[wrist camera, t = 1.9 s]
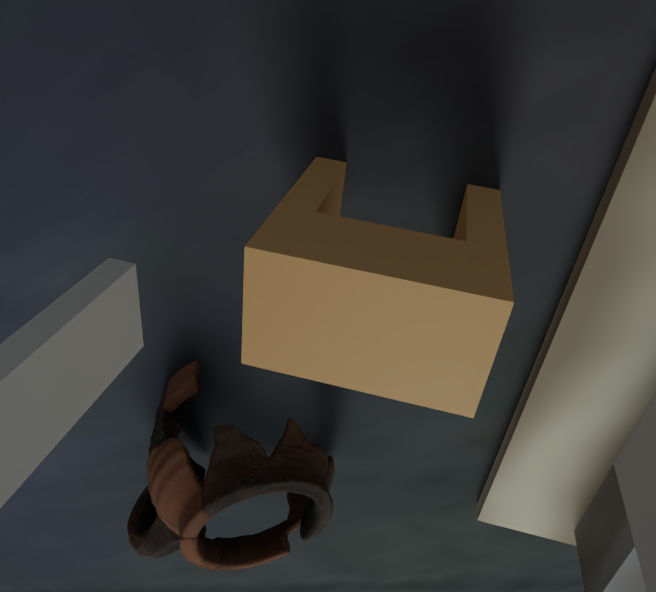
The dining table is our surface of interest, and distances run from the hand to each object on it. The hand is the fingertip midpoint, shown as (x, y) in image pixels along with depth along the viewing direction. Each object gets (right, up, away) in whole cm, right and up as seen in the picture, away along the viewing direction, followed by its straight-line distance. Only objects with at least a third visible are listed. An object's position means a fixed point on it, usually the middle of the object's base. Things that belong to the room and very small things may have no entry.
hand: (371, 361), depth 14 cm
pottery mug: (-6, -6, +17) cm, 19 cm away
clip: (+2, +5, +8) cm, 9 cm away
